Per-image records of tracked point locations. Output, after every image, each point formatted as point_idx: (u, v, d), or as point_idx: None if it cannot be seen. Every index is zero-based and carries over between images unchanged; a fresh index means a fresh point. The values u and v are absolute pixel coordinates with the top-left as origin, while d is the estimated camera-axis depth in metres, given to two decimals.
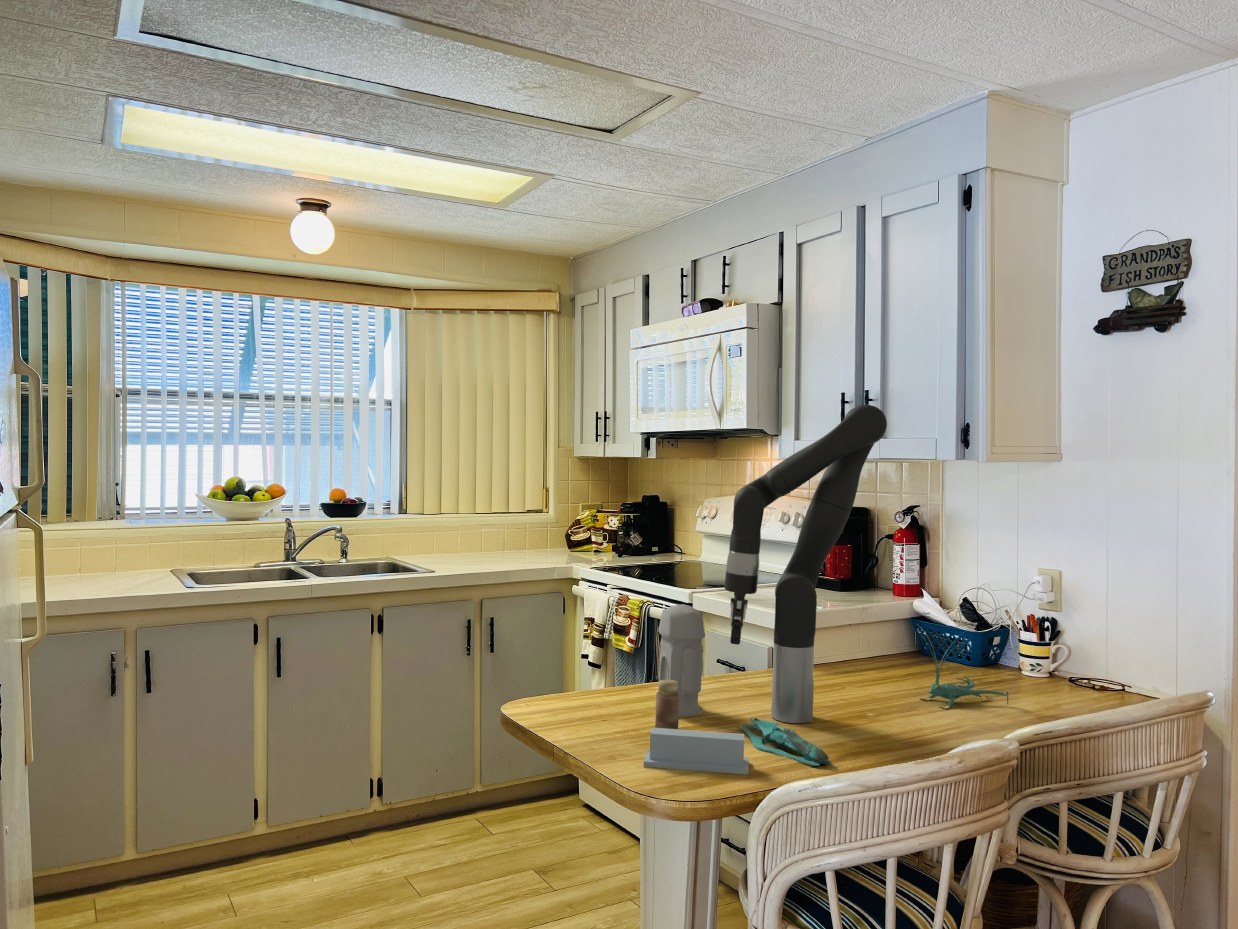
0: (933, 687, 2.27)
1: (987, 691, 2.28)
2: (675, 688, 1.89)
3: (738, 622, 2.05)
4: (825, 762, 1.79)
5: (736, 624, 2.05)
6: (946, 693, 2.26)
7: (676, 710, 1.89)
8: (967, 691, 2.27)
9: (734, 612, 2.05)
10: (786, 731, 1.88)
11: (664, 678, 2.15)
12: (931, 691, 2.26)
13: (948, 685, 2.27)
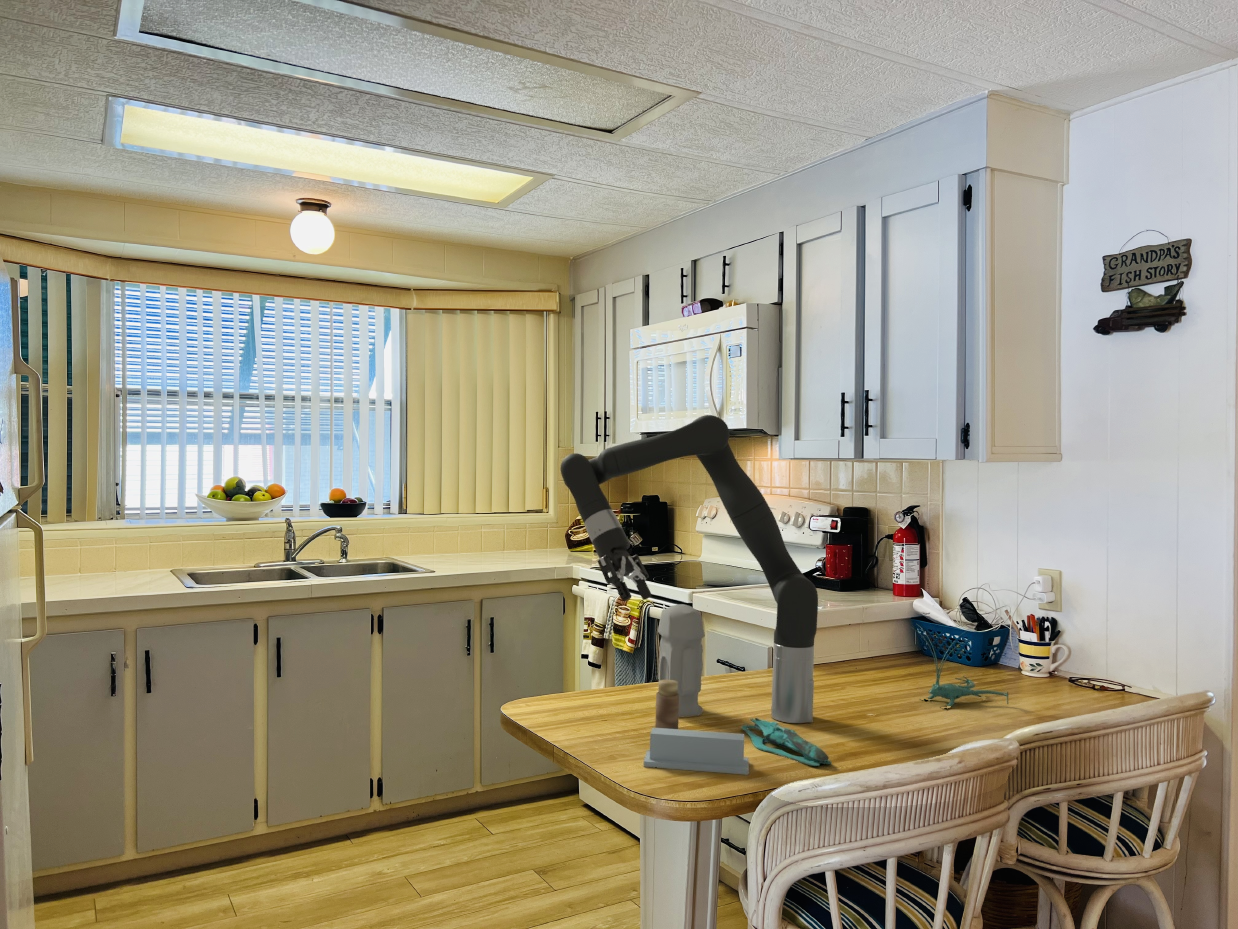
0: (933, 687, 2.27)
1: (987, 691, 2.28)
2: (675, 688, 1.89)
3: (611, 576, 1.94)
4: (825, 762, 1.79)
5: (610, 579, 1.94)
6: (946, 694, 2.25)
7: (676, 710, 1.89)
8: (967, 691, 2.27)
9: (602, 570, 1.95)
10: (786, 731, 1.88)
11: (664, 678, 2.15)
12: (931, 691, 2.26)
13: (948, 685, 2.27)
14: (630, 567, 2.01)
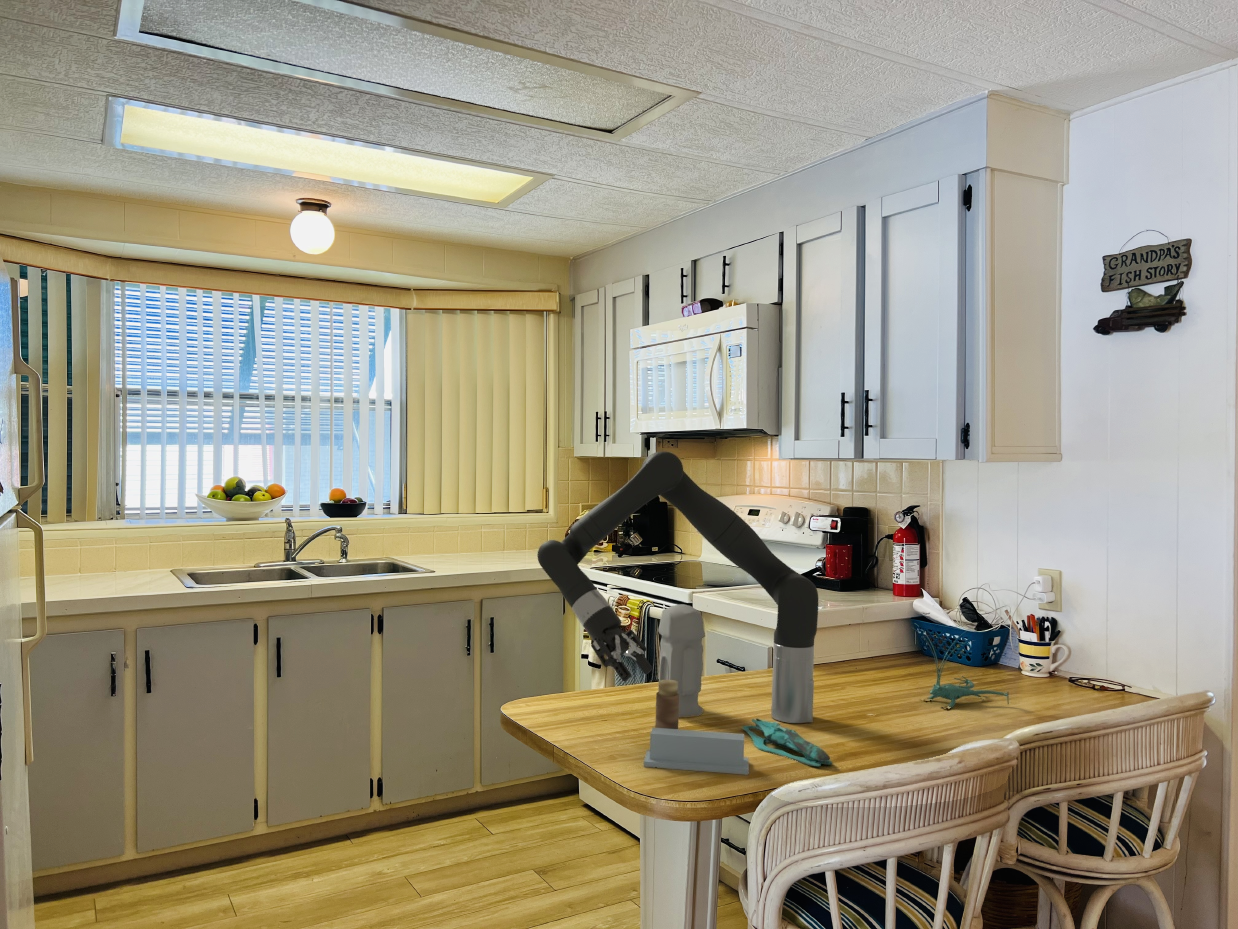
0: (934, 688, 2.26)
1: (987, 691, 2.28)
2: (675, 688, 1.89)
3: (607, 659, 1.91)
4: (826, 762, 1.78)
5: (606, 662, 1.91)
6: (947, 694, 2.25)
7: (676, 710, 1.89)
8: (968, 691, 2.27)
9: (598, 654, 1.92)
10: (788, 731, 1.88)
11: (664, 678, 2.15)
12: (932, 692, 2.25)
13: (949, 686, 2.27)
14: (626, 644, 1.98)
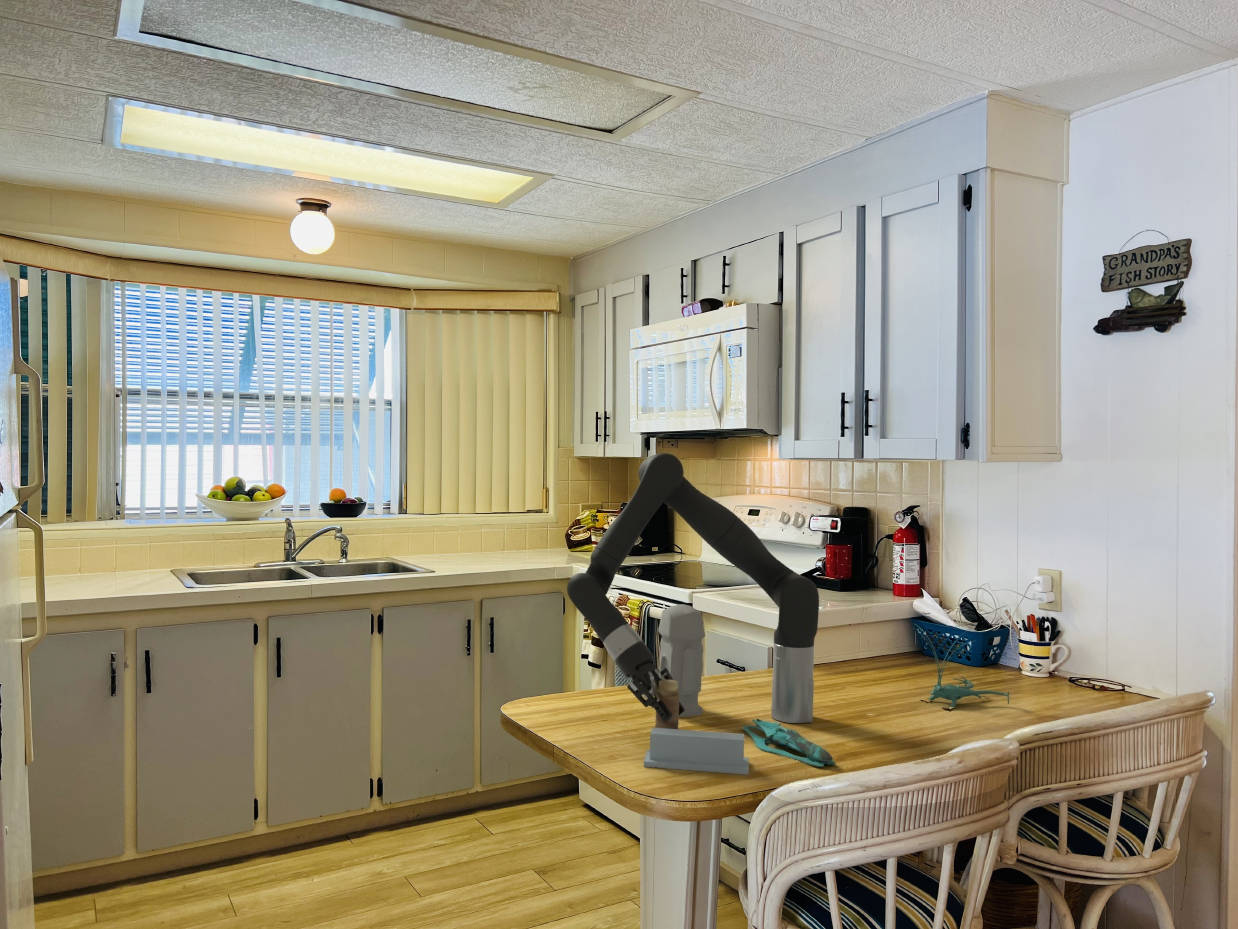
0: (935, 688, 2.25)
1: (987, 691, 2.28)
2: (675, 688, 1.89)
3: (647, 700, 1.87)
4: (829, 763, 1.78)
5: (647, 702, 1.87)
6: (948, 695, 2.25)
7: (676, 710, 1.89)
8: (968, 692, 2.27)
9: (636, 695, 1.88)
10: (789, 732, 1.87)
11: None
12: (933, 693, 2.25)
13: (950, 686, 2.26)
14: (657, 681, 1.93)
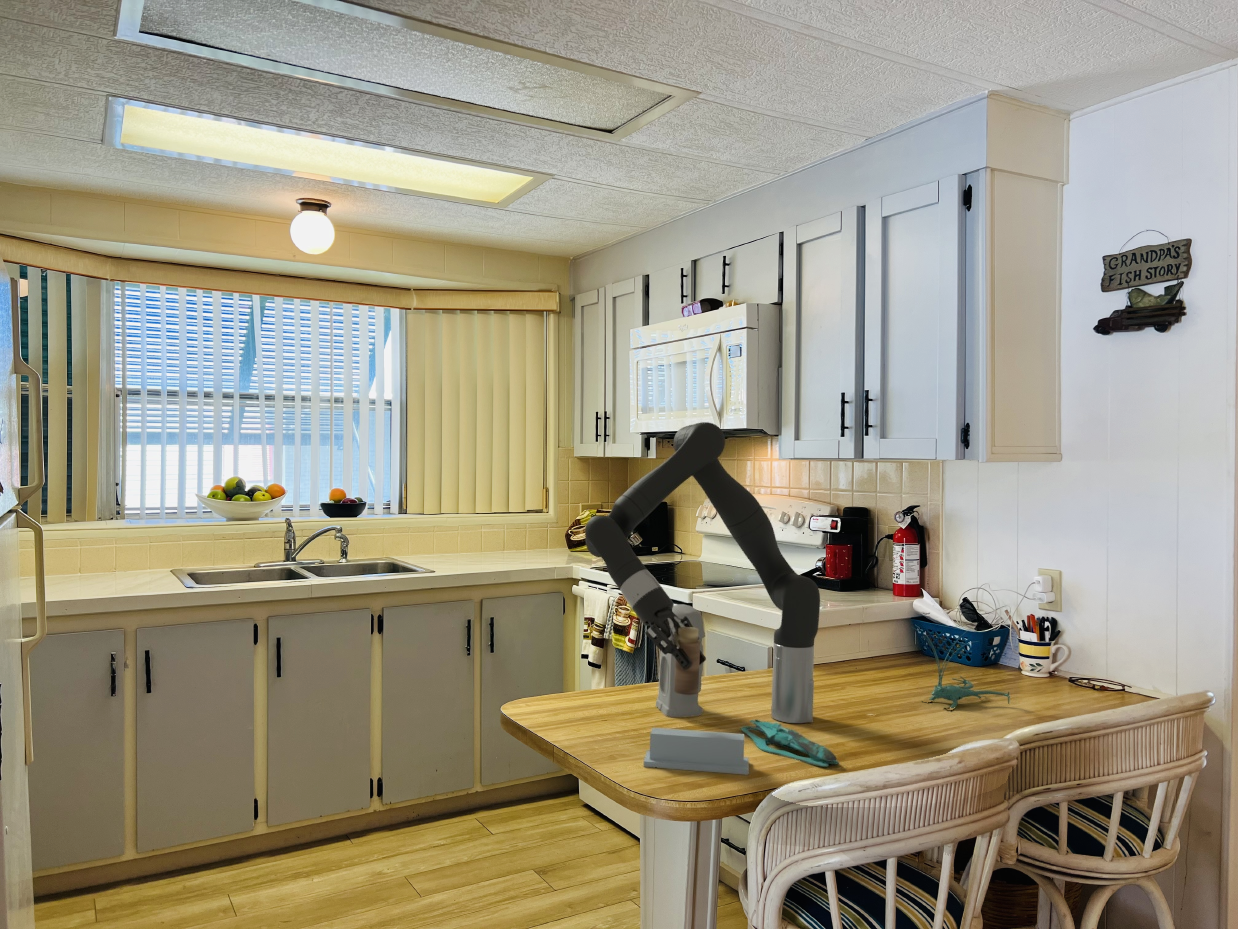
0: (936, 689, 2.25)
1: (987, 692, 2.28)
2: (696, 635, 1.80)
3: (667, 646, 1.77)
4: (833, 762, 1.79)
5: (666, 649, 1.77)
6: (949, 695, 2.24)
7: (697, 658, 1.79)
8: (969, 692, 2.27)
9: (655, 642, 1.78)
10: (791, 732, 1.87)
11: (664, 678, 2.15)
12: (934, 693, 2.24)
13: (950, 687, 2.26)
14: (677, 628, 1.83)
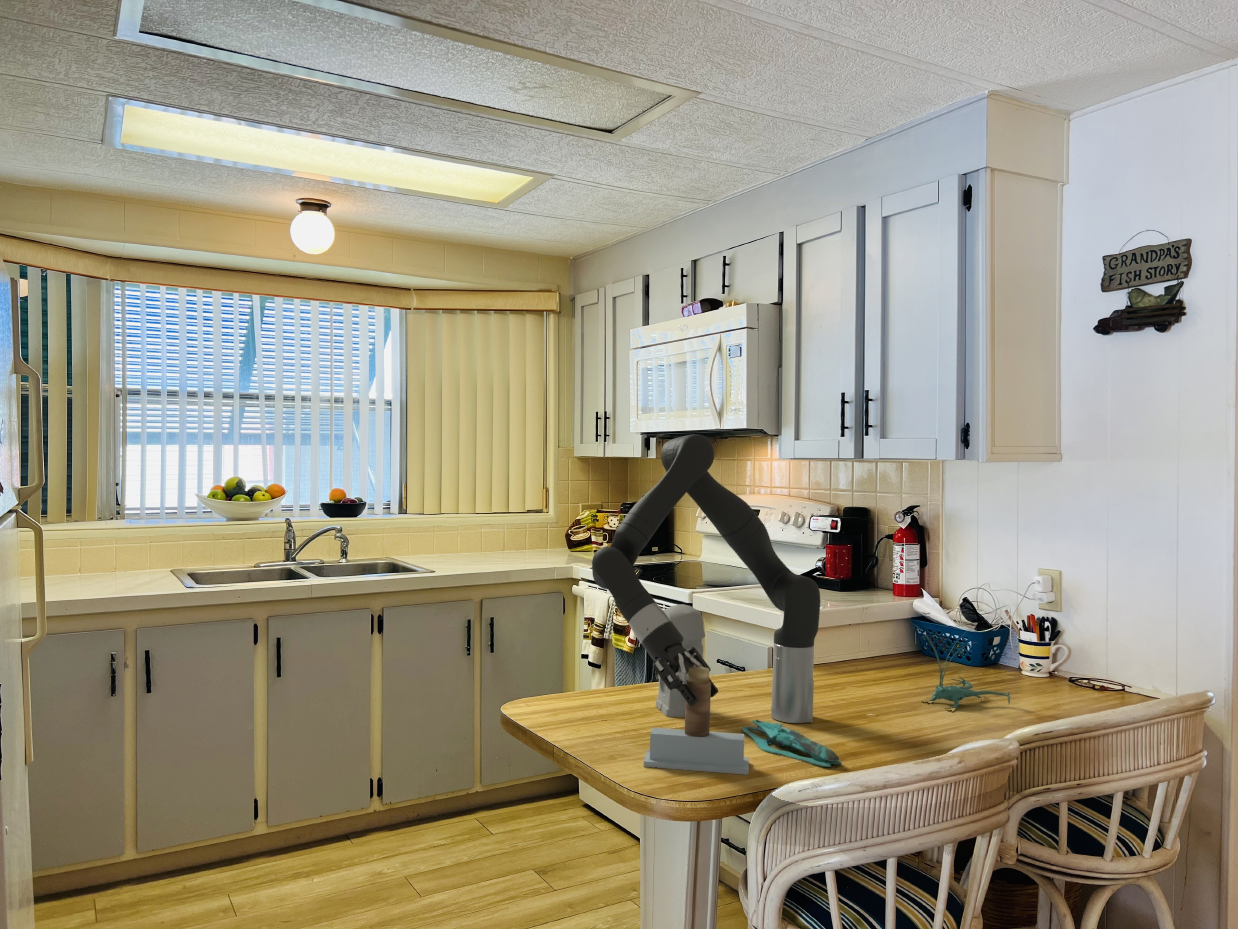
0: (937, 690, 2.24)
1: (988, 692, 2.28)
2: (707, 675, 1.76)
3: (672, 681, 1.72)
4: (835, 762, 1.79)
5: (672, 685, 1.72)
6: (950, 696, 2.24)
7: (708, 699, 1.75)
8: (969, 692, 2.26)
9: (661, 676, 1.73)
10: (792, 732, 1.87)
11: None
12: (936, 694, 2.24)
13: (951, 687, 2.25)
14: (689, 663, 1.79)
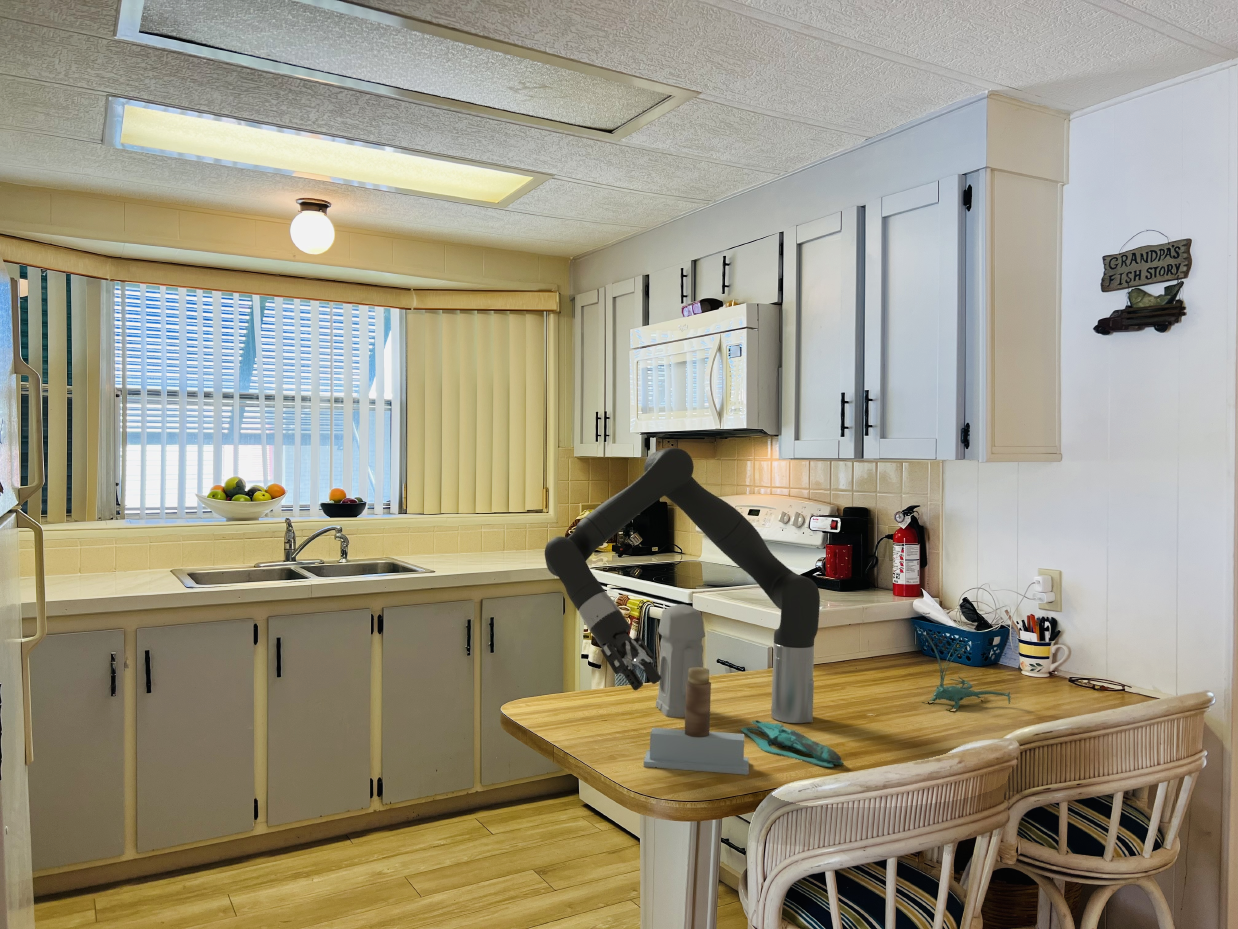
0: (938, 690, 2.24)
1: (988, 692, 2.28)
2: (707, 676, 1.76)
3: (618, 666, 1.79)
4: (837, 762, 1.79)
5: (618, 669, 1.79)
6: (951, 696, 2.23)
7: (708, 700, 1.75)
8: (970, 693, 2.26)
9: (608, 660, 1.80)
10: (793, 733, 1.87)
11: (664, 678, 2.15)
12: (937, 694, 2.23)
13: (952, 687, 2.25)
14: (635, 651, 1.87)
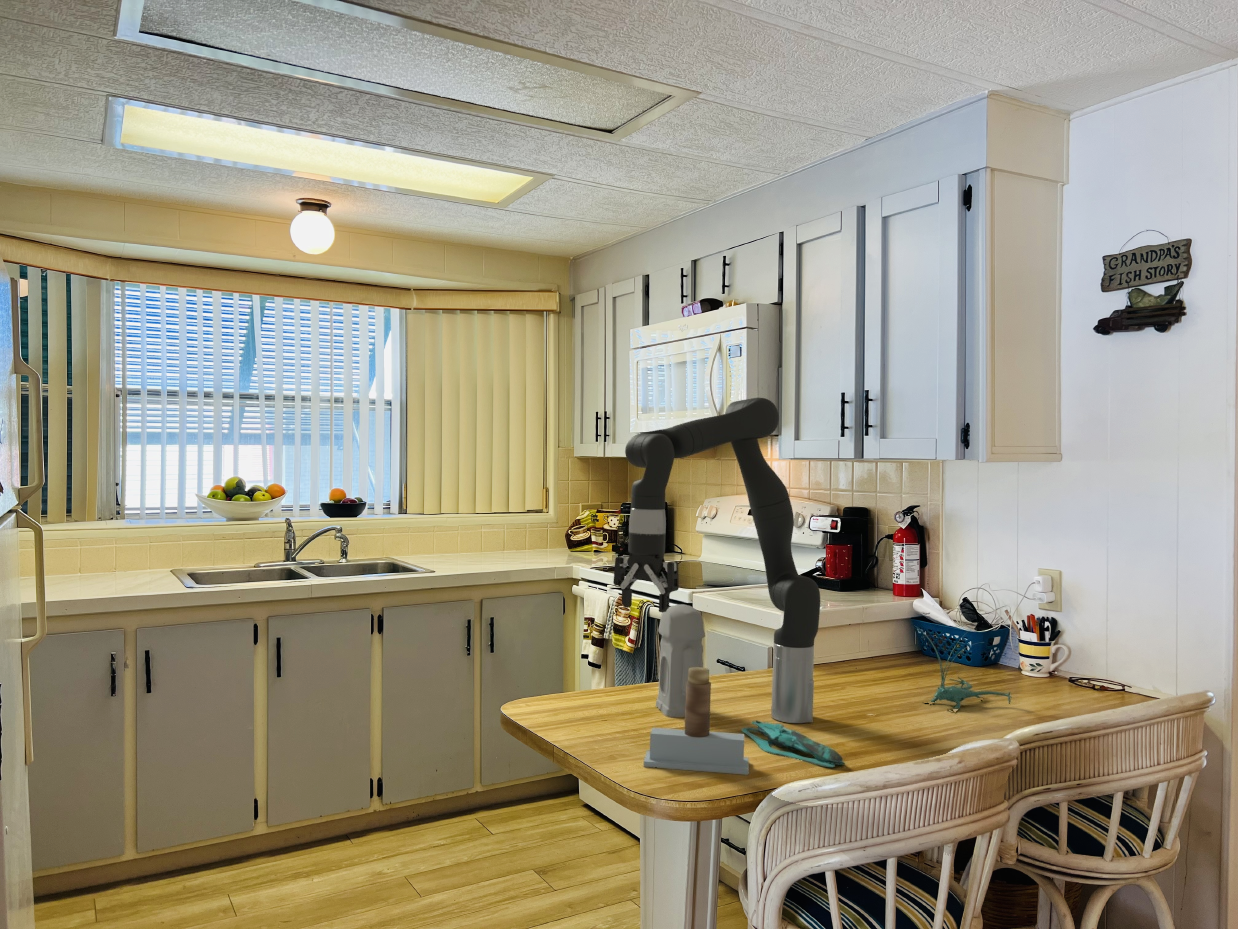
0: (939, 691, 2.24)
1: (988, 692, 2.27)
2: (707, 676, 1.76)
3: (675, 586, 1.84)
4: (839, 763, 1.79)
5: (675, 588, 1.83)
6: (952, 696, 2.23)
7: (708, 700, 1.75)
8: (970, 693, 2.26)
9: (673, 576, 1.83)
10: (794, 733, 1.87)
11: (664, 678, 2.15)
12: (938, 695, 2.23)
13: (953, 688, 2.25)
14: None
